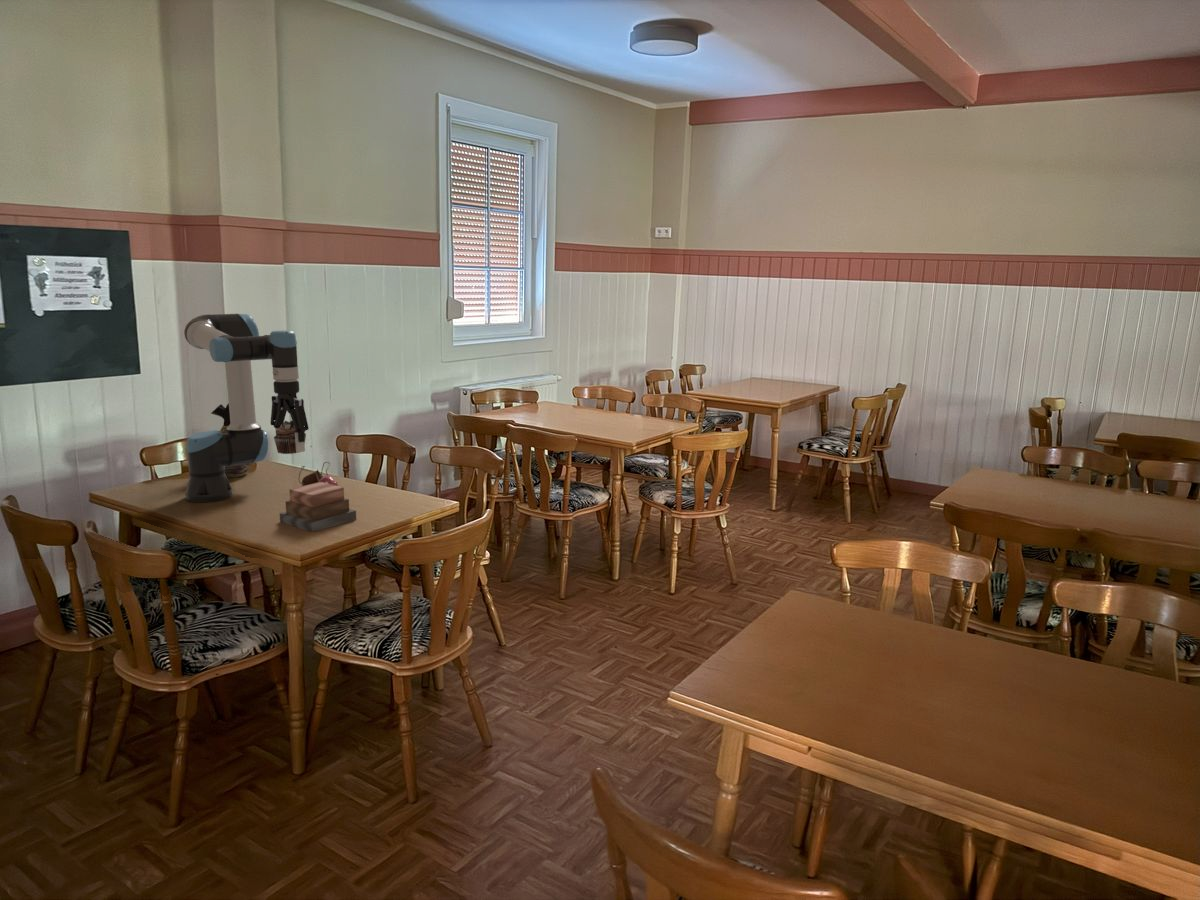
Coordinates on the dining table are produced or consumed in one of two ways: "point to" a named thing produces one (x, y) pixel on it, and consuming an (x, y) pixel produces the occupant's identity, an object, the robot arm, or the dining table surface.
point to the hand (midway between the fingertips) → (290, 449)
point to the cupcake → (286, 438)
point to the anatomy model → (317, 477)
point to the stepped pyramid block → (317, 507)
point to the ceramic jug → (225, 414)
